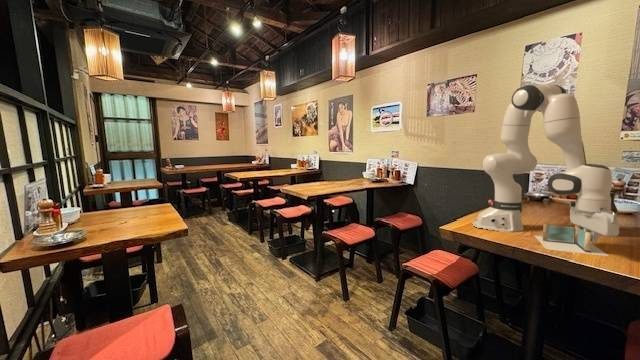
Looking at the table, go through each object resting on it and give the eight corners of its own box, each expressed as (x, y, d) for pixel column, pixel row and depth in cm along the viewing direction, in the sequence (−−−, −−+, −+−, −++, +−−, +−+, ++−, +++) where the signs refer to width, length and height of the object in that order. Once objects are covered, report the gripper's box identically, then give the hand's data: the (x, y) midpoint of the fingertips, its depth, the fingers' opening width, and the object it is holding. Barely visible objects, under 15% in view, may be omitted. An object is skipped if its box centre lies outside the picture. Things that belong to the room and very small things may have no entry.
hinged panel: (576, 243, 107) (577, 227, 106) (582, 243, 106) (583, 227, 105) (585, 250, 99) (586, 232, 99) (590, 250, 99) (592, 233, 98)
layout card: (546, 250, 104) (546, 249, 104) (533, 236, 120) (534, 235, 120) (609, 257, 95) (609, 256, 95) (586, 241, 112) (586, 240, 112)
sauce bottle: (620, 237, 115) (624, 193, 113) (603, 236, 116) (607, 193, 114) (607, 233, 122) (611, 191, 120) (591, 232, 123) (594, 191, 121)
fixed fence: (543, 241, 112) (544, 223, 111) (541, 239, 114) (542, 222, 114) (582, 245, 106) (584, 226, 106) (580, 243, 108) (581, 224, 108)
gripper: (627, 211, 89) (624, 250, 90) (585, 201, 108) (583, 233, 110) (604, 211, 91) (601, 249, 92) (566, 201, 110) (565, 232, 111)
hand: (591, 240), depth 101 cm, fingers closed
